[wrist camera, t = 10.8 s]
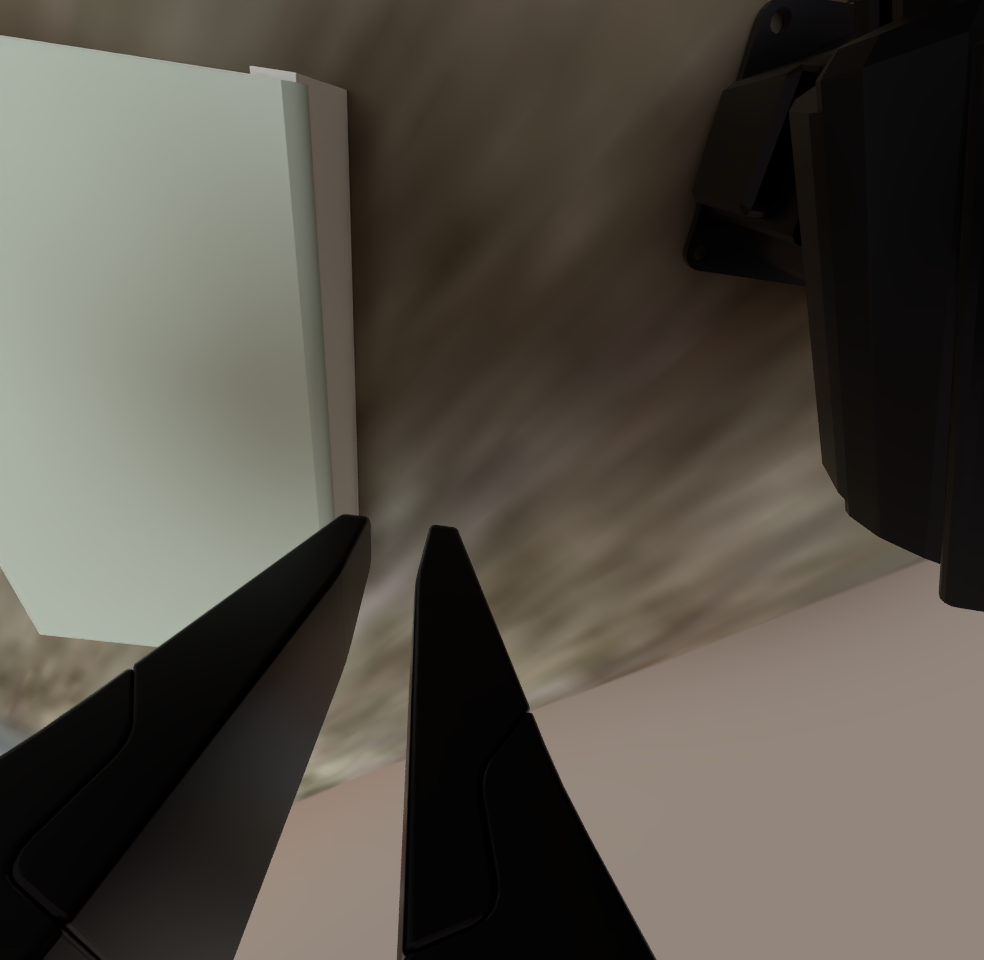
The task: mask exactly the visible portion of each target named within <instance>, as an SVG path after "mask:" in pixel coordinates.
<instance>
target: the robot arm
mask: <svg viewBox="0 0 984 960" xmlns="http://www.w3.org/2000/svg"><path fill="white" fill-rule="evenodd" d="M851 2H854V4H848V3H851ZM848 3H842V2H836V1H830V0H771V1H770V2H768V3H766V5H765V6H764V7H763V8H762V9H761V10H760V12H759V14H758V16H757V18H756V20H755V23H754V26H753V30H752V33H751V36H750V39H749V42H748V46H747V49H746V52H745V55H744V58H743V62H742V65H741V68H740V71H739V74H738V77H737V81H736V82H734V83H732V84H731V85H730V86H729V87H727V88H726V89H725V90H724V91H723V92H722V95H721V98H720V101H719V105H718V108H717V111H716V115H715V118H714V121H713V124H712V128H711V131H710V134H709V138H708V141H707V144H706V147H705V151H704V154H703V157H702V161H701V164H700V167H699V170H698V174H697V177H696V180H695V184H694V187H693V190H692V193H693V195H694V197H695V200H696V202H698V205H697V208H696V211H695V214H694V218H693V221H692V224H691V227H690V230H689V234H688V237H687V240H686V243H685V246H684V250H683V258H684V262H685V263H686V264H687V265H688V266H689V267H691V268H693V269H695V270H699V271H706V272H713V273H720V274H727V275H734V276H740V277H747V278H754V279H761V280H768V281H775V282H782V283H789V284H795V285H802V286H806V297H807V307H808V317H809V328H810V338H811V349H812V359H813V370H814V380H815V391H816V401H817V412H818V422H819V433H820V443H821V454H822V464H823V465H824V467H825V469H826V471H827V473H828V475H829V476H830V478H831V480H832V482H833V484H834V486H835V488H836V489H837V491H838V493H839V494H840V495H841V496H842V497H843V498H844V499H845V508H846V511H847V513H848V515H849V516H850V517H852V518H853V519H855V520H856V521H857V522H859V523H860V524H861V525H863V526H864V527H865V528H867V529H868V530H870V531H871V532H872V533H874V534H875V535H876V536H878V537H880V538H882V539H884V540H886V541H888V542H891V543H893V544H895V545H897V546H899V547H901V548H903V549H906V550H908V551H910V552H912V553H914V554H916V555H919V556H921V557H923V558H925V559H928V560H931V561H934V562H937V563H939V564H941V566H940V582H939V596H940V599H941V600H942V601H943V602H944V603H946V604H948V605H950V606H953V607H958V608H964V609H970V610H976V611H983V612H984V0H848ZM778 10H779V11H780V12H782V13H783V15H784V18H785V19H784V26H783V27H782V29H781V31H780V32H779V33H778V34H775V33H774V32H772V30H771V28H770V21H771V18H772V16H773V14H774V12H775V11H778ZM701 245H706V247H707V253H706V254H705V256H704V257H703V258H701V259H699V260H696V259H695V257H694V255H695V251H696V249H697V248H698V247H699V246H701ZM370 561H371V526H370V520H369V519H368V518H367V517H365V516H358V515H350V514H342V515H340V516H338V517H337V518H336V519H334V520H333V521H331V522H330V523H329V524H327V525H326V526H324V527H323V528H322V529H320V530H319V531H318V532H316V533H315V534H313V535H312V536H311V537H309V538H308V539H307V540H305V541H304V542H302V543H301V544H300V545H298V546H297V547H295V548H294V549H293V550H291V551H290V552H289V553H287V554H286V555H284V556H283V557H282V558H280V559H279V560H277V561H276V562H275V563H273V564H272V565H271V566H269V567H268V568H266V569H265V570H264V571H262V572H261V573H260V574H258V575H257V576H255V577H254V578H253V579H251V580H250V581H248V582H247V583H246V584H244V585H243V586H242V587H240V588H239V589H237V590H236V591H235V592H233V593H232V594H231V595H229V596H228V597H226V598H225V599H224V600H222V601H221V602H219V603H218V604H217V605H215V606H214V607H213V608H211V609H210V610H208V611H207V612H206V613H204V614H203V615H201V616H200V617H199V618H197V619H196V620H195V621H193V622H192V623H190V624H189V625H188V626H186V627H185V628H184V629H182V630H181V631H179V632H178V633H177V634H175V635H174V636H172V637H171V638H170V639H168V640H167V641H166V642H164V643H163V644H161V645H160V646H159V647H157V648H156V649H154V650H153V651H152V652H150V653H149V654H148V655H146V656H145V657H143V658H142V659H141V660H139V661H138V662H137V663H135V665H134V667H133V670H132V669H127V670H125V671H124V672H122V673H121V674H120V675H118V676H117V677H115V678H114V679H113V680H111V681H110V682H108V683H107V684H106V685H104V686H103V687H102V688H100V689H99V690H97V691H96V692H95V693H93V694H92V695H90V696H89V697H87V698H86V699H85V700H83V701H82V702H80V703H79V704H77V705H76V706H74V707H73V708H72V709H70V710H69V711H67V712H66V713H64V714H63V715H62V716H60V717H59V718H57V719H56V720H54V721H53V722H51V723H50V724H49V725H47V726H46V727H44V728H43V729H41V730H40V731H38V732H37V733H35V734H34V735H32V736H31V737H29V738H28V739H26V740H25V741H23V742H21V743H20V744H18V745H17V746H15V747H14V748H12V749H11V750H9V751H8V752H6V753H4V754H3V755H1V756H0V960H233V959H234V956H235V954H236V951H237V949H238V946H239V944H240V941H241V938H242V936H243V933H244V930H245V928H246V925H247V922H248V920H249V917H250V914H251V911H252V909H253V907H254V904H255V901H256V899H257V896H258V893H259V891H260V888H261V886H262V883H263V880H264V878H265V875H266V872H267V870H268V867H269V864H270V862H271V859H272V857H273V854H274V851H275V849H276V846H277V843H278V841H279V838H280V836H281V833H282V830H283V828H284V825H285V822H286V820H287V817H288V814H289V812H290V809H291V807H292V804H293V801H294V799H295V796H296V793H297V791H298V788H299V785H300V783H301V780H302V778H303V775H304V772H305V770H306V767H307V764H308V762H309V759H310V756H311V754H312V751H313V749H314V746H315V743H316V741H317V738H318V735H319V733H320V730H321V727H322V725H323V722H324V720H325V717H326V714H327V712H328V709H329V706H330V704H331V701H332V698H333V696H334V693H335V691H336V688H337V685H338V683H339V680H340V677H341V675H342V672H343V669H344V666H345V663H346V660H347V656H348V653H349V649H350V646H351V642H352V638H353V634H354V630H355V626H356V622H357V617H358V613H359V609H360V605H361V601H362V597H363V593H364V589H365V585H366V581H367V577H368V573H369V568H370ZM529 710H530V707H529V704H528V702H527V699H526V697H525V695H524V692H523V690H522V687H521V685H520V682H519V680H518V677H517V675H516V672H515V670H514V667H513V665H512V663H511V660H510V658H509V655H508V653H507V650H506V648H505V645H504V643H503V640H502V638H501V635H500V633H499V630H498V628H497V626H496V623H495V621H494V618H493V616H492V613H491V611H490V608H489V606H488V603H487V601H486V598H485V596H484V594H483V591H482V589H481V586H480V584H479V581H478V579H477V576H476V574H475V571H474V569H473V566H472V564H471V561H470V559H469V557H468V554H467V552H466V549H465V547H464V544H463V542H462V539H461V537H460V534H459V532H458V530H457V529H456V528H454V527H448V526H440V525H432V526H431V527H430V528H429V532H428V535H427V539H426V543H425V547H424V550H423V554H422V558H421V561H420V565H419V569H418V573H417V578H416V584H415V596H414V614H413V631H412V648H411V665H410V683H409V704H408V726H407V748H406V770H405V792H404V814H403V836H402V859H401V880H400V901H399V924H398V945H397V960H656V958H655V956H654V954H653V953H652V951H651V949H650V947H649V945H648V943H647V941H646V940H645V938H644V936H643V934H642V932H641V931H640V929H639V927H638V925H637V923H636V921H635V919H634V918H633V916H632V914H631V912H630V910H629V908H628V907H627V905H626V903H625V901H624V899H623V897H622V896H621V894H620V892H619V890H618V888H617V886H616V885H615V883H614V881H613V879H612V877H611V875H610V874H609V872H608V870H607V868H606V866H605V865H604V862H603V861H602V859H601V857H600V855H599V853H598V851H597V850H596V848H595V846H594V844H593V842H592V840H591V839H590V837H589V835H588V833H587V831H586V829H585V827H584V825H583V823H582V821H581V819H580V817H579V815H578V813H577V812H576V810H575V807H574V806H573V804H572V802H571V800H570V798H569V796H568V794H567V792H566V790H565V788H564V786H563V784H562V782H561V779H560V777H559V775H558V772H557V770H556V768H555V766H554V763H553V761H552V759H551V756H550V754H549V752H548V750H547V748H546V745H545V743H544V741H543V738H542V736H541V733H540V731H539V729H538V726H537V723H536V721H535V719H534V716H533V714H532V713H529Z"/></svg>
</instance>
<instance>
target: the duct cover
mask: <svg viewBox="0 0 984 960" xmlns="http://www.w3.org/2000/svg"><path fill="white" fill-rule="evenodd" d="M334 519H335V509H334V493H333V477H332V461H331V445H330V429H329V413H328V397H327V381H326V365H325V349H324V333H323V318H322V302H321V286H320V270H319V254H318V238H317V222H316V206H315V190H314V174H313V158H312V142H311V126H310V110H309V94H308V85H306V84H302V83H297V82H292V81H286V80H280V79H273V78H267V77H261V76H254V75H248V74H241V73H235V72H228V71H222V70H215V69H209V68H203V67H196V66H190V65H183V64H177V63H170V62H164V61H158V60H151V59H145V58H138V57H132V56H125V55H119V54H112V53H106V52H100V51H93V50H87V49H80V48H74V47H67V46H61V45H55V44H48V43H42V42H35V41H29V40H22V39H16V38H9V37H3V36H0V567H1V568H2V570H3V572H4V573H5V575H6V577H7V579H8V580H9V582H10V584H11V586H12V587H13V589H14V591H15V592H16V594H17V596H18V598H19V599H20V601H21V603H22V605H23V606H24V608H25V610H26V611H27V613H28V615H29V617H30V618H31V620H32V622H33V624H34V625H35V627H36V629H37V630H38V632H39V634H41V635H50V636H60V637H69V638H78V639H88V640H97V641H107V642H116V643H126V644H135V645H144V646H154V647H159V646H160V645H161V644H163V643H164V642H166V641H167V640H168V639H170V638H171V637H172V636H174V635H175V634H177V633H178V632H179V631H181V630H182V629H184V628H185V627H186V626H188V625H189V624H190V623H192V622H193V621H195V620H196V619H197V618H199V617H200V616H201V615H203V614H204V613H206V612H207V611H208V610H210V609H211V608H213V607H214V606H215V605H217V604H218V603H219V602H221V601H222V600H224V599H225V598H226V597H228V596H229V595H231V594H232V593H233V592H235V591H236V590H237V589H239V588H240V587H242V586H243V585H244V584H246V583H247V582H248V581H250V580H251V579H253V578H254V577H255V576H257V575H258V574H260V573H261V572H262V571H264V570H265V569H266V568H268V567H269V566H271V565H272V564H273V563H275V562H276V561H277V560H279V559H280V558H282V557H283V556H284V555H286V554H287V553H289V552H290V551H291V550H293V549H294V548H295V547H297V546H298V545H300V544H301V543H302V542H304V541H305V540H307V539H308V538H309V537H311V536H312V535H313V534H315V533H316V532H318V531H319V530H320V529H322V528H323V527H324V526H326V525H327V524H329V523H330V522H331V521H333V520H334Z"/></svg>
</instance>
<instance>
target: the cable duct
mask: <svg viewBox="0 0 984 960" xmlns="http://www.w3.org/2000/svg"><path fill="white" fill-rule="evenodd" d="M0 36H2V35H0ZM3 37H9V36H3ZM9 38H15V37H9ZM16 39H22V38H16ZM22 40H28V39H22ZM29 41H35V40H29ZM35 42H41V41H35ZM42 43H48V42H42ZM48 44H54V43H48ZM55 45H61V44H55ZM61 46H67V45H61ZM67 47H73V46H67ZM74 48H80V47H74ZM80 49H86V48H80ZM87 50H93V49H87ZM93 51H99V50H93ZM100 52H106V51H100ZM106 53H112V52H106ZM112 54H119V53H112ZM119 55H125V54H119ZM125 56H131V55H125ZM132 57H138V56H132ZM138 58H144V57H138ZM145 59H151V58H145ZM151 60H157V59H151ZM158 61H164V60H158ZM164 62H170V61H164ZM170 63H177V62H170ZM177 64H183V63H177ZM183 65H189V64H183ZM190 66H196V65H190ZM196 67H202V66H196ZM203 68H209V67H203ZM209 69H215V68H209ZM215 70H222V69H215ZM222 71H228V70H222ZM228 72H235V71H228ZM235 73H241V72H235ZM241 74H247V73H241ZM248 75H254V76H261V77H267V78H273V79H280V80H286V81H292V82H297V83H302V84H306V85H308V94H309V110H310V126H311V142H312V158H313V174H314V190H315V206H316V222H317V238H318V254H319V270H320V286H321V302H322V318H323V333H324V349H325V365H326V381H327V397H328V413H329V429H330V445H331V461H332V477H333V493H334V509H335V519H336V518H337V517H338V516H340V515H342V514H350V515H358V516H359V499H358V464H357V429H356V394H355V359H354V324H353V289H352V254H351V219H350V183H349V148H348V113H347V90H345V89H342V88H339V87H336V86H333V85H331V84H328V83H325V82H322V81H319V80H316V79H313V78H310V77H307V76H304V75H301V74H298V73H295V72H288V71H282V70H275V69H269V68H262V67H256V66H250V74H248Z"/></svg>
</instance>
